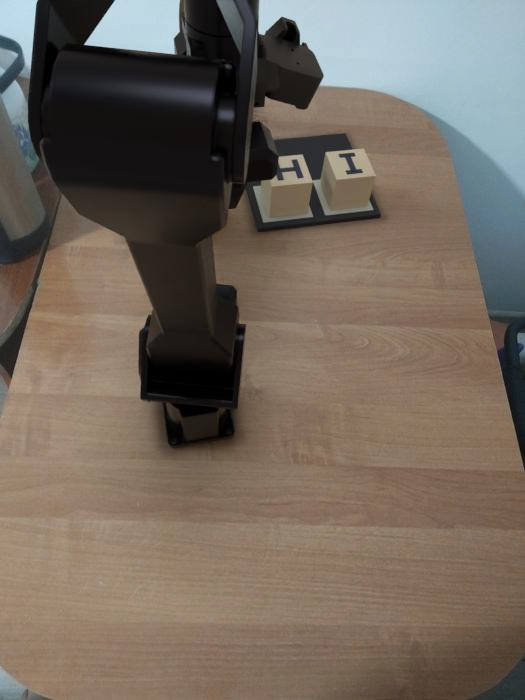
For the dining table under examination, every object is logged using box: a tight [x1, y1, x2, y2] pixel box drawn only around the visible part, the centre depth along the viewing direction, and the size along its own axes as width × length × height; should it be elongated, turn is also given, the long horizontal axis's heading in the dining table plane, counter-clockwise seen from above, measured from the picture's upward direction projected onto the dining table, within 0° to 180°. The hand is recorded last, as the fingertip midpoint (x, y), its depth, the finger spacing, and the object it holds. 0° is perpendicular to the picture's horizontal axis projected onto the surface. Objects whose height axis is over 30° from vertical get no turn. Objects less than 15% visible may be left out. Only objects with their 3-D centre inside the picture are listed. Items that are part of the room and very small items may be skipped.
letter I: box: [320, 148, 377, 210], centre depth 70 cm, size 5×5×5 cm
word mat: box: [245, 133, 382, 232], centre depth 74 cm, size 16×16×1 cm
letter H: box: [261, 155, 313, 217], centre depth 69 cm, size 5×5×5 cm
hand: (222, 175), depth 57 cm, fingers open, 9 cm apart
